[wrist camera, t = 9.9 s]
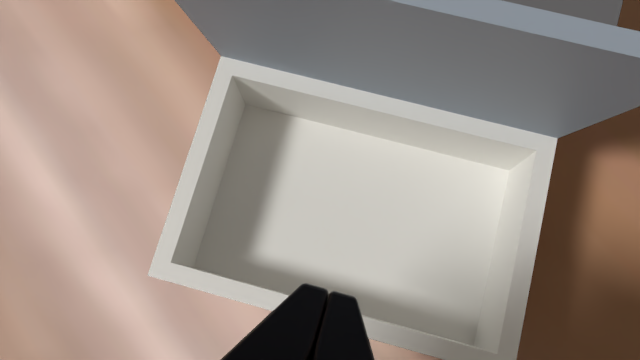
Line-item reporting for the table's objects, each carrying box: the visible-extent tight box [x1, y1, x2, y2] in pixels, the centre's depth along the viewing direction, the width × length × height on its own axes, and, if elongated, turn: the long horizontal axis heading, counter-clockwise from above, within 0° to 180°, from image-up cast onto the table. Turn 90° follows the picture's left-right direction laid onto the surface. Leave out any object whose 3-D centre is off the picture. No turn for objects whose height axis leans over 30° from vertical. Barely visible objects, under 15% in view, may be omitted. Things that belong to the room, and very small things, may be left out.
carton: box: [148, 56, 558, 360], centre depth 19 cm, size 8×12×4 cm, turn 75°
